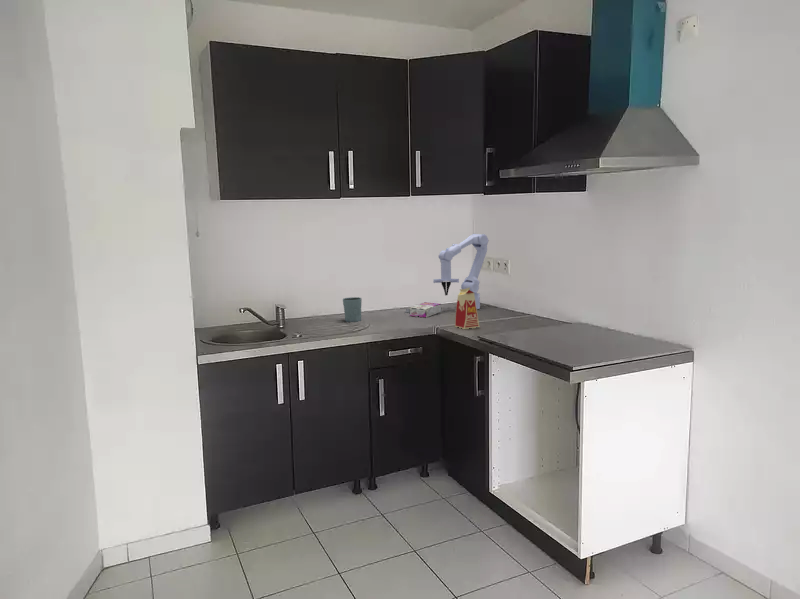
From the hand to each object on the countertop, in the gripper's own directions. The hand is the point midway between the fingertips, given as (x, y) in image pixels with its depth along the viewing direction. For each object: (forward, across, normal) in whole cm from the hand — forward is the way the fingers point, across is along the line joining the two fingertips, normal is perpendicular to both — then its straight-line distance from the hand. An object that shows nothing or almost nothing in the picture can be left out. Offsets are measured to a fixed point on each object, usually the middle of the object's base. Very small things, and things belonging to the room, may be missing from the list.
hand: (446, 295), depth 336 cm
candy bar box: (+6, -7, -4) cm, 10 cm away
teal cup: (+9, -50, -27) cm, 58 cm away
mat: (+9, -16, 0) cm, 19 cm away
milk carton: (+10, +10, -48) cm, 50 cm away
